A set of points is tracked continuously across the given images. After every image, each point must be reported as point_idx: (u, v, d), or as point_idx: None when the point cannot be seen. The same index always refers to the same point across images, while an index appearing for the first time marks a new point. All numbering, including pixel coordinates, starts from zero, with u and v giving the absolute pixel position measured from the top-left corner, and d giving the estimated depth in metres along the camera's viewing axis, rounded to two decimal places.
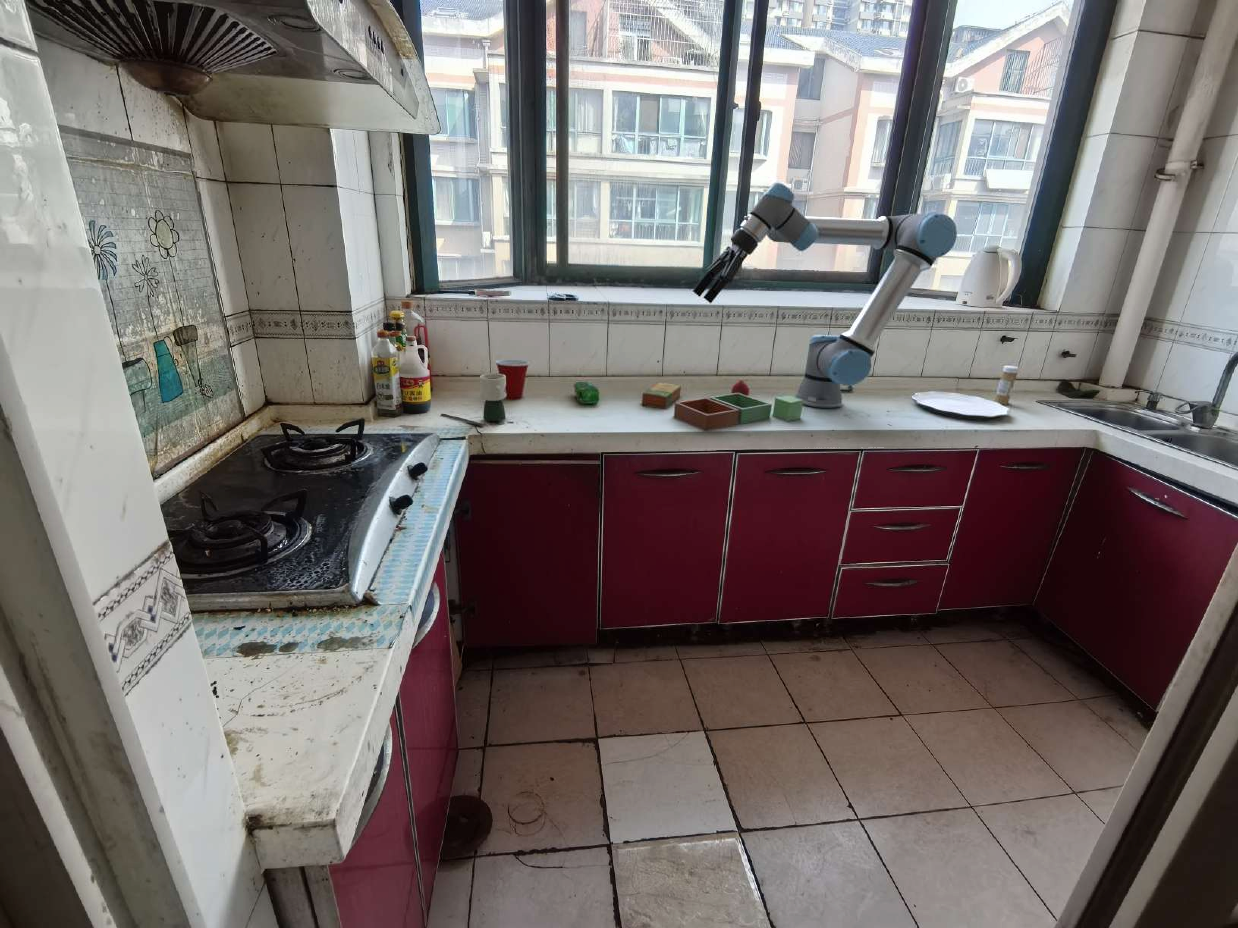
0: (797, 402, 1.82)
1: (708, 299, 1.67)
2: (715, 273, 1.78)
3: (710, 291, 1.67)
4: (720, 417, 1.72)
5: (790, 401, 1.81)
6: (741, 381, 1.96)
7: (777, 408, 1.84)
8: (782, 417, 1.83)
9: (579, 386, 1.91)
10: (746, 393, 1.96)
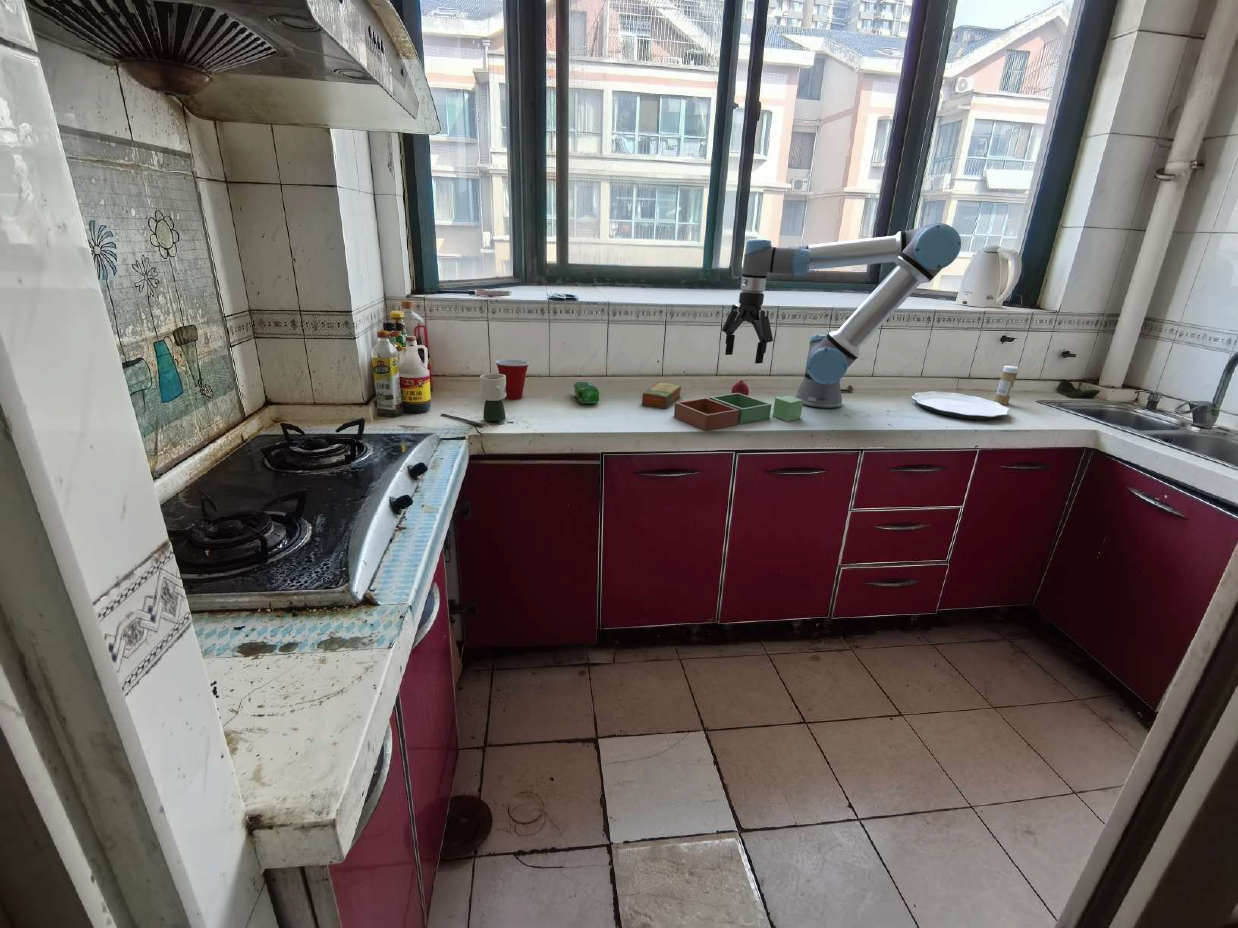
0: (797, 402, 1.82)
1: (759, 361, 1.88)
2: (734, 330, 1.95)
3: (758, 355, 1.86)
4: (720, 417, 1.72)
5: (790, 401, 1.81)
6: (741, 381, 1.96)
7: (777, 408, 1.84)
8: (782, 417, 1.83)
9: (579, 386, 1.91)
10: (746, 393, 1.96)
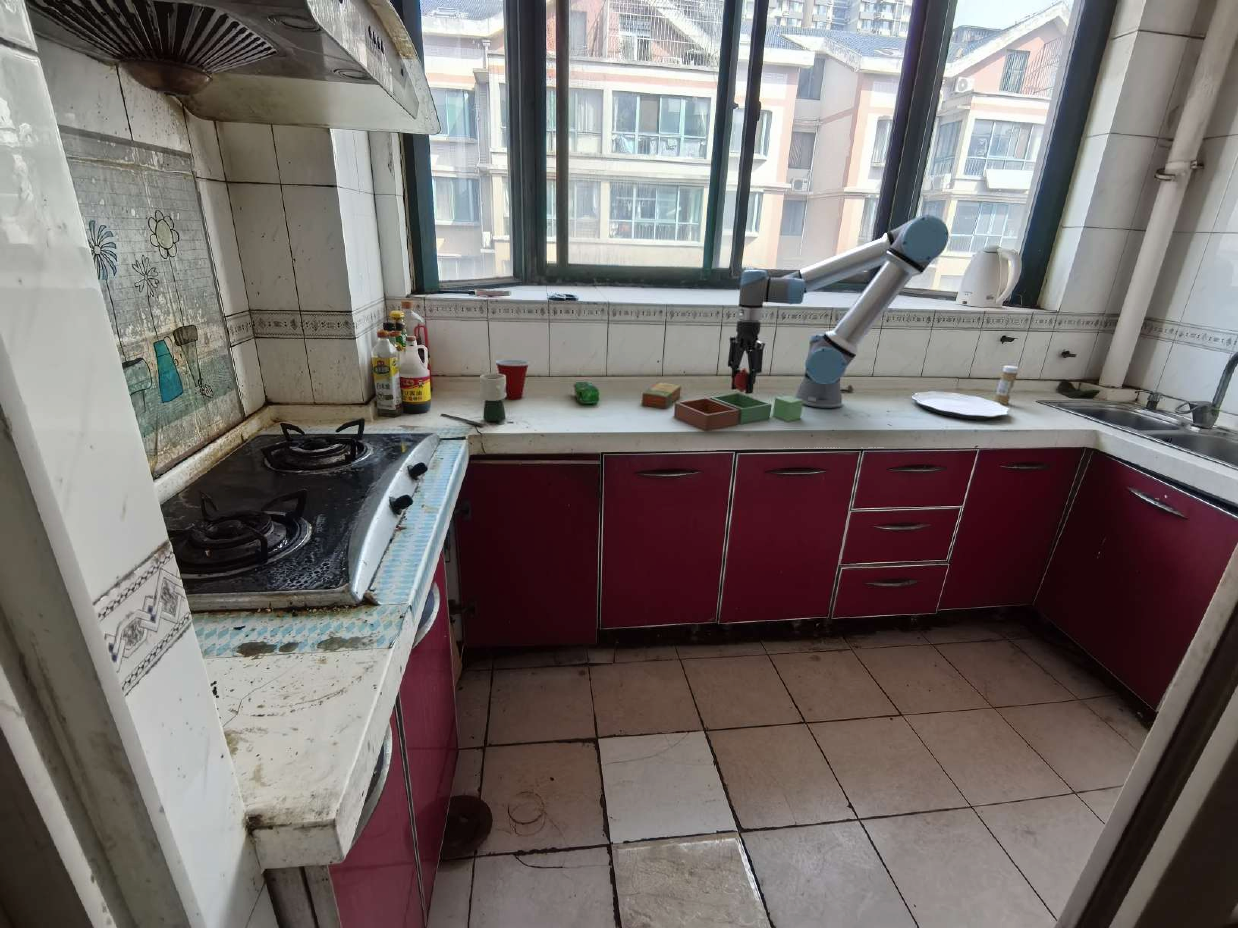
0: (797, 402, 1.82)
1: (750, 392, 1.95)
2: (739, 363, 1.97)
3: (748, 386, 1.93)
4: (720, 417, 1.72)
5: (790, 401, 1.81)
6: (744, 370, 1.95)
7: (777, 408, 1.84)
8: (782, 417, 1.83)
9: (579, 386, 1.91)
10: None
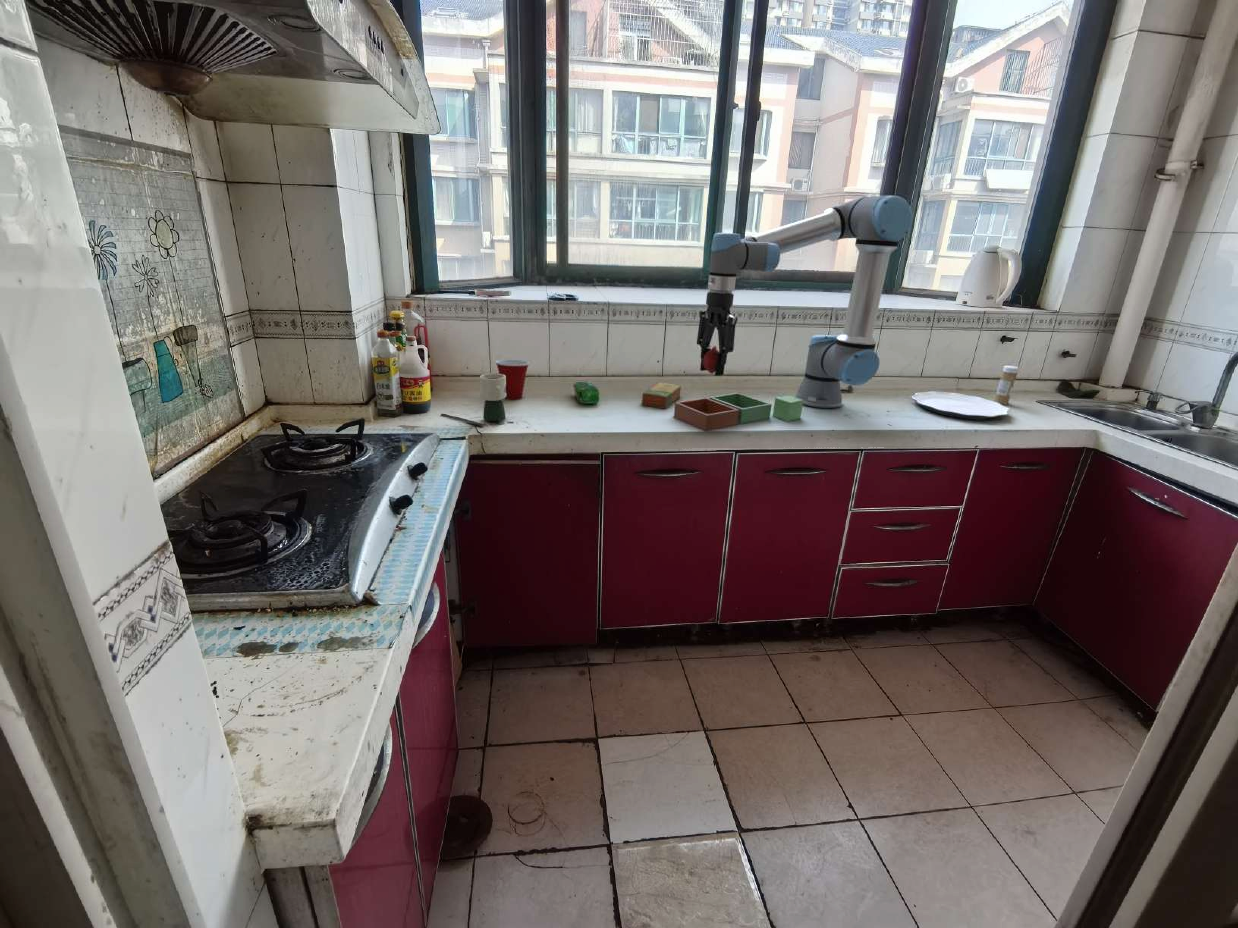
0: (797, 402, 1.82)
1: (720, 373, 1.72)
2: (709, 341, 1.74)
3: (718, 367, 1.71)
4: (720, 417, 1.72)
5: (790, 401, 1.81)
6: (714, 348, 1.72)
7: (777, 408, 1.84)
8: (782, 417, 1.83)
9: (579, 386, 1.91)
10: None
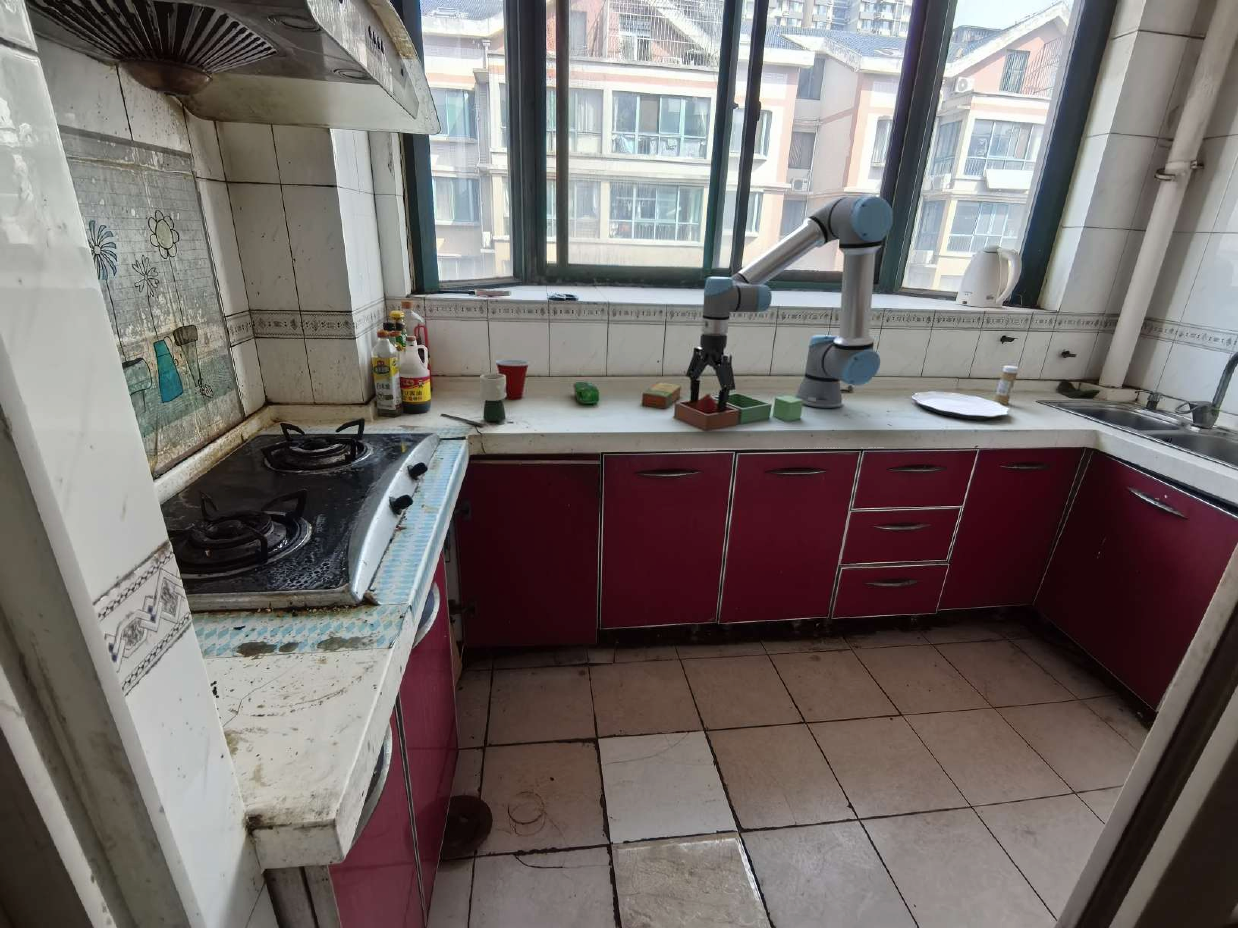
0: (797, 402, 1.82)
1: (722, 410, 1.72)
2: (699, 375, 1.79)
3: (720, 404, 1.71)
4: (720, 417, 1.72)
5: (790, 401, 1.81)
6: (707, 395, 1.76)
7: (777, 408, 1.84)
8: (782, 417, 1.83)
9: (579, 386, 1.91)
10: (713, 408, 1.75)
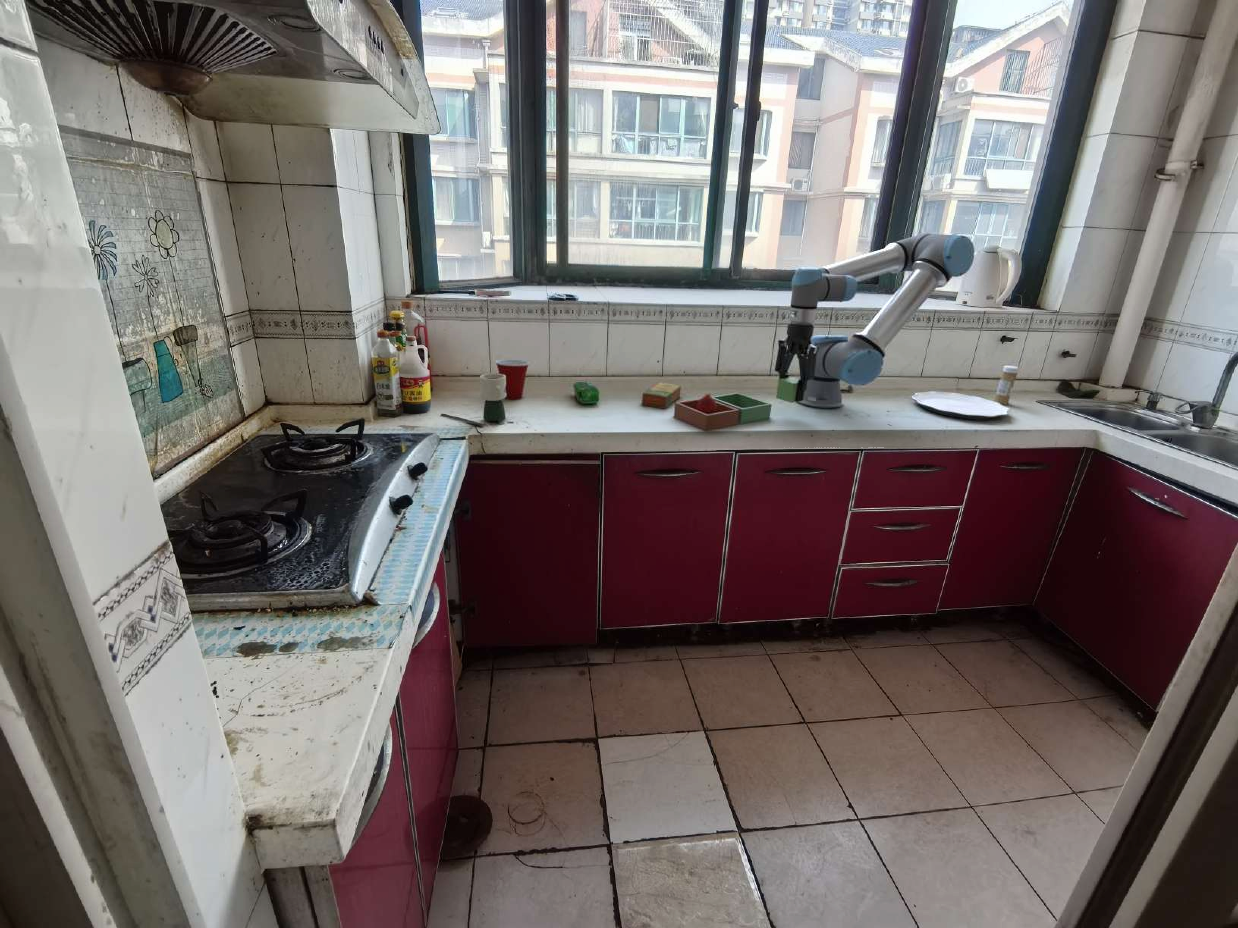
0: None
1: (800, 399, 1.81)
2: (787, 368, 1.83)
3: (799, 393, 1.79)
4: (720, 417, 1.72)
5: (794, 382, 1.79)
6: (707, 395, 1.76)
7: (781, 390, 1.82)
8: (785, 399, 1.81)
9: (579, 386, 1.91)
10: (713, 408, 1.75)
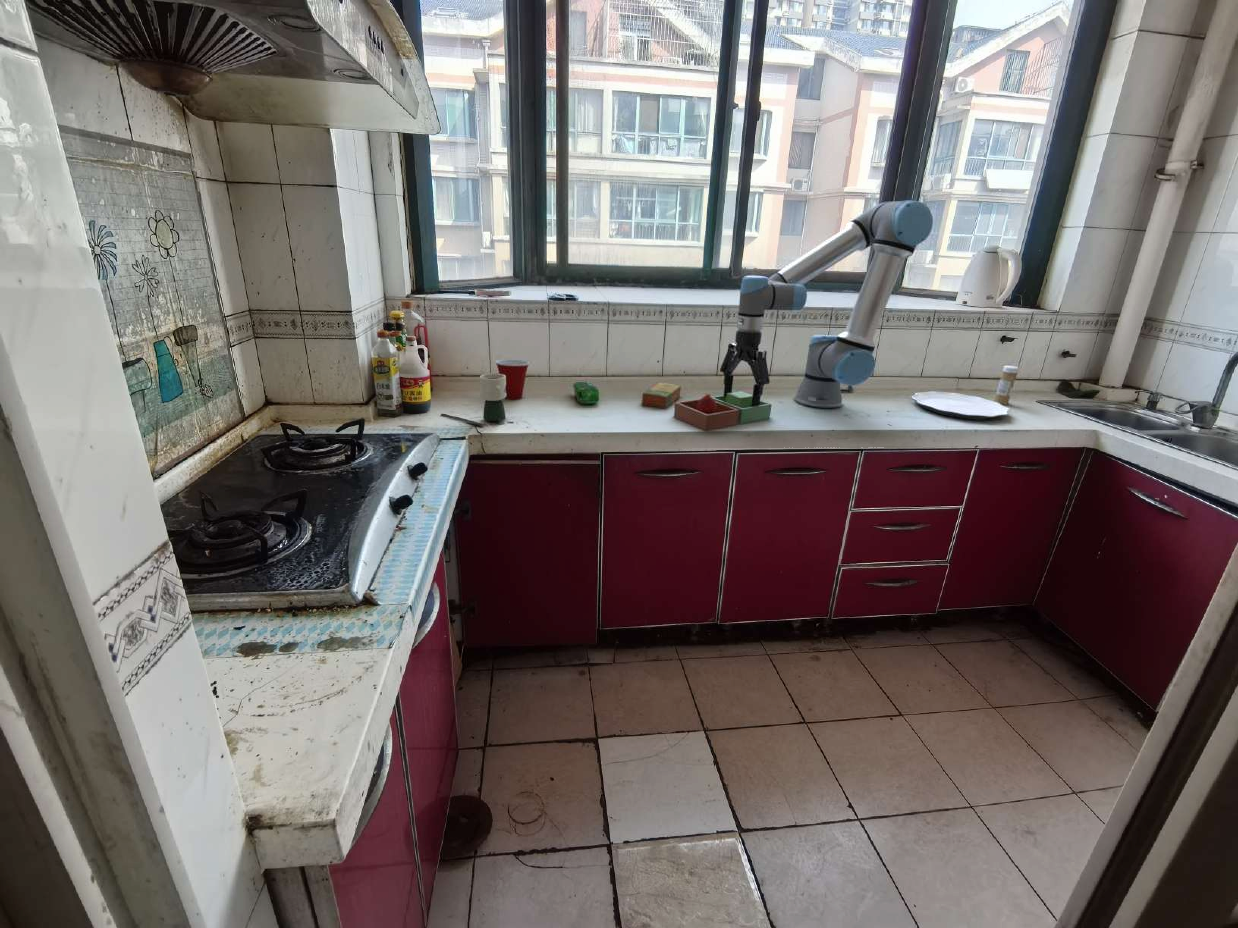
0: (748, 397, 1.82)
1: (756, 404, 1.80)
2: (732, 370, 1.86)
3: (755, 398, 1.78)
4: (720, 417, 1.72)
5: (741, 396, 1.81)
6: (707, 395, 1.76)
7: None
8: None
9: (579, 386, 1.91)
10: (713, 408, 1.75)
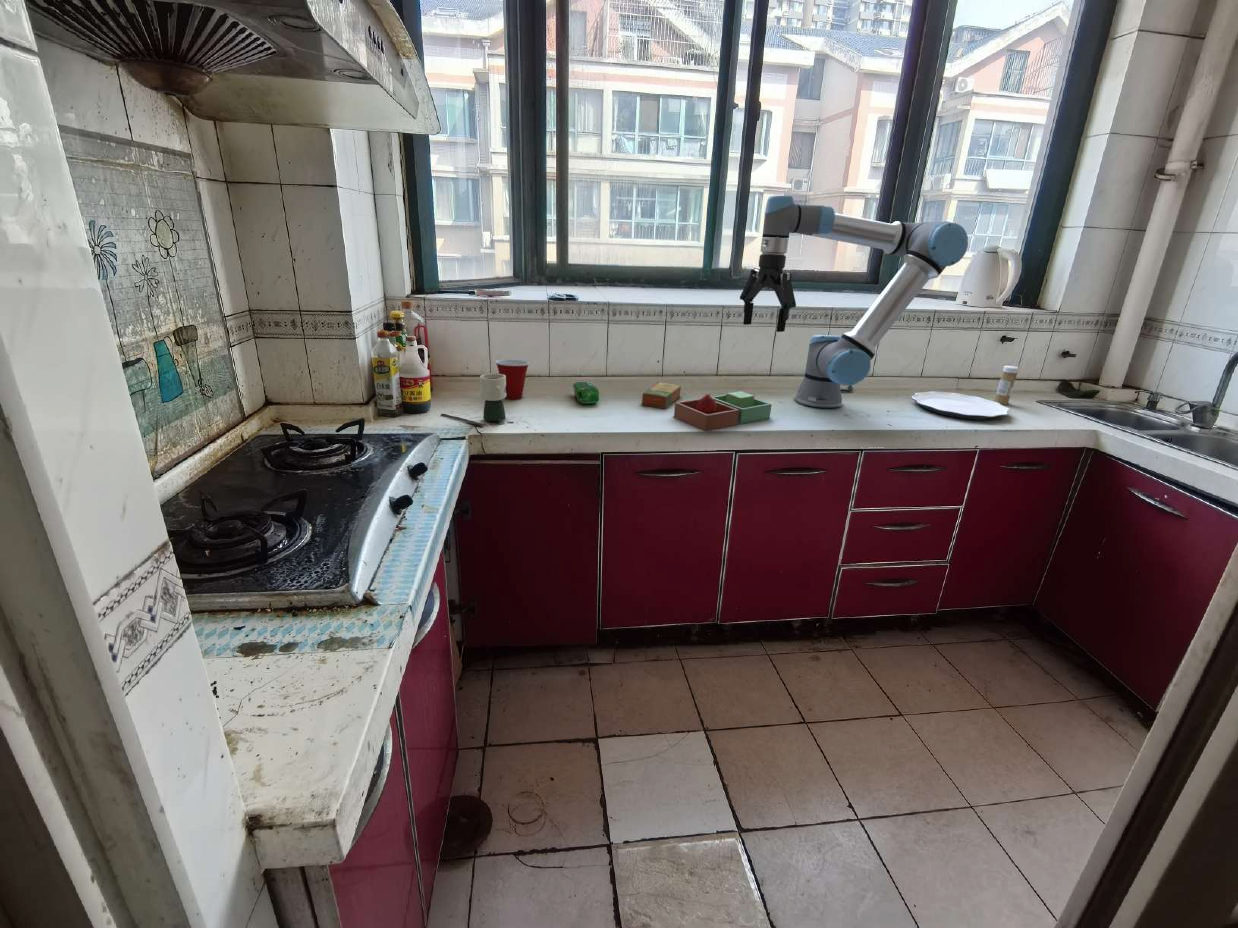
0: (748, 397, 1.82)
1: (781, 330, 1.74)
2: (753, 297, 1.81)
3: (780, 323, 1.73)
4: (720, 417, 1.72)
5: (741, 396, 1.81)
6: (707, 395, 1.76)
7: None
8: None
9: (579, 386, 1.91)
10: (713, 408, 1.75)
